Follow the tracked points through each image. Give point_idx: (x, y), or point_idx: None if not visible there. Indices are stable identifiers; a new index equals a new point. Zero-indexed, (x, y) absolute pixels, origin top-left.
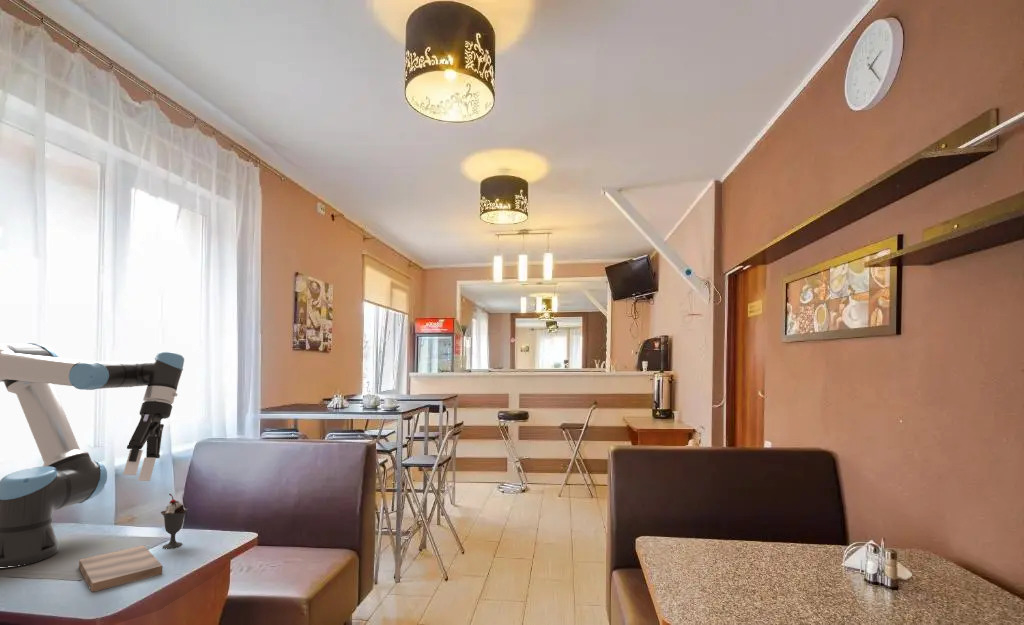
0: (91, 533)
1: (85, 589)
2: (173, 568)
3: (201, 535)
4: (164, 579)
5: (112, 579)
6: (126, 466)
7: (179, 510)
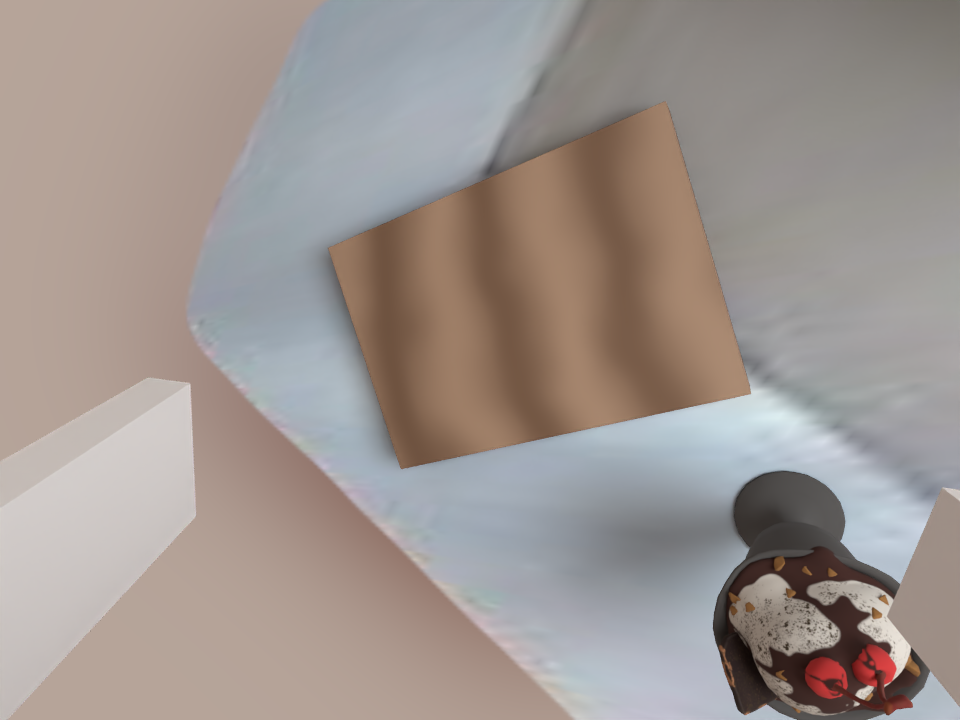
0: None
1: (382, 219)
2: (454, 496)
3: None
4: (363, 463)
5: (350, 307)
6: (60, 444)
7: (752, 664)
